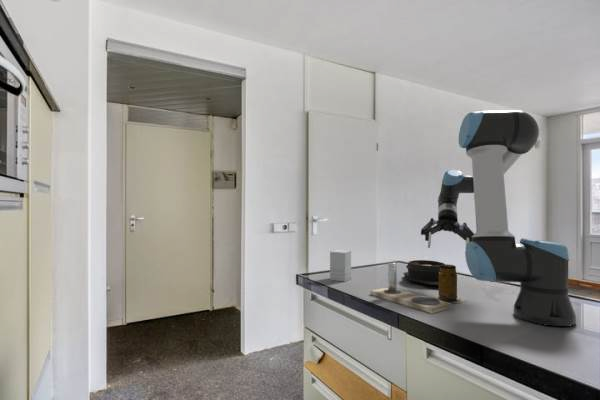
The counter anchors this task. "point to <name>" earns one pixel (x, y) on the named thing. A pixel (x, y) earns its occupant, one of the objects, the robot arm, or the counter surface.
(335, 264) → the supplement box
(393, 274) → the steel post
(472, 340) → the counter surface
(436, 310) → the board
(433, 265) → the casserole
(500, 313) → the counter surface
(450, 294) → the condiment
